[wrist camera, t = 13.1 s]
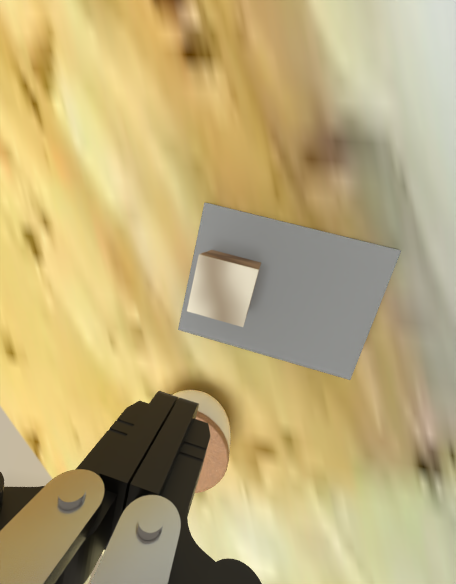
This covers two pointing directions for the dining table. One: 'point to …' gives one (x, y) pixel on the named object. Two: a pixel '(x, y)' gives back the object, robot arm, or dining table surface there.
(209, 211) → the mat
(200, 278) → the walnut cube
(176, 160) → the dining table surface
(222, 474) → the lidded jar
